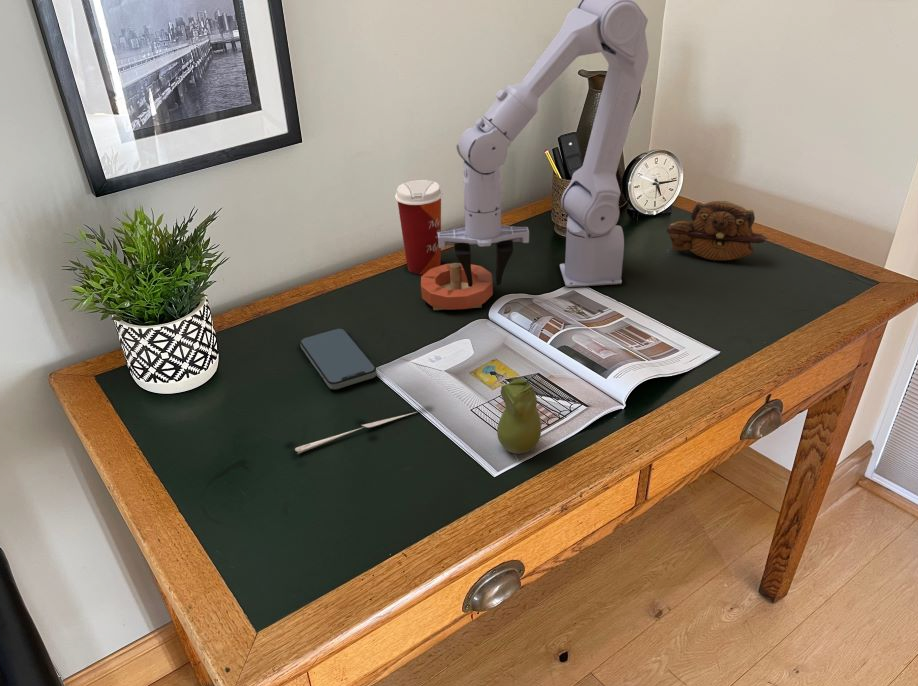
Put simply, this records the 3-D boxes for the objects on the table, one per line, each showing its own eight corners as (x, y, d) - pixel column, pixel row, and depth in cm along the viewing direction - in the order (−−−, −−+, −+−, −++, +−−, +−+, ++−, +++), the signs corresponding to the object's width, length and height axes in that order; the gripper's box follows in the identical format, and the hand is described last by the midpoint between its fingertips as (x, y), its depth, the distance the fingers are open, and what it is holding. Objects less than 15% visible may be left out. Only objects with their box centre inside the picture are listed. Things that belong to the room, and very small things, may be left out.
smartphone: (343, 326, 124) (378, 369, 113) (344, 335, 125) (380, 379, 114) (297, 339, 122) (329, 384, 110) (299, 348, 123) (330, 394, 111)
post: (479, 284, 135) (478, 252, 132) (481, 307, 129) (481, 275, 125) (432, 287, 136) (430, 255, 132) (433, 310, 129) (431, 277, 126)
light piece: (434, 410, 105) (299, 456, 99) (434, 416, 106) (300, 462, 99) (421, 395, 108) (289, 439, 102) (421, 401, 109) (290, 445, 102)
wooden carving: (662, 258, 139) (668, 205, 134) (666, 247, 143) (672, 195, 137) (761, 269, 134) (772, 214, 128) (762, 258, 137) (773, 204, 132)
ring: (490, 273, 136) (489, 261, 135) (494, 307, 127) (494, 294, 125) (422, 277, 137) (421, 264, 135) (421, 311, 127) (420, 298, 126)
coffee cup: (446, 276, 139) (442, 195, 130) (400, 278, 139) (392, 197, 130) (446, 255, 145) (442, 177, 137) (402, 257, 146) (395, 179, 137)
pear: (547, 455, 98) (549, 390, 92) (509, 467, 97) (509, 402, 91) (527, 429, 102) (528, 366, 97) (490, 440, 101) (489, 377, 95)
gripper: (436, 219, 120) (441, 297, 128) (531, 213, 119) (530, 292, 127) (436, 201, 126) (440, 276, 133) (526, 195, 125) (525, 272, 133)
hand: (484, 283), depth 131 cm, fingers open, 4 cm apart
